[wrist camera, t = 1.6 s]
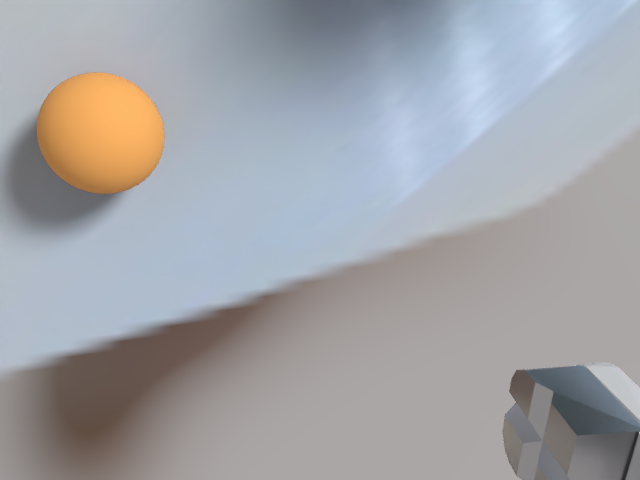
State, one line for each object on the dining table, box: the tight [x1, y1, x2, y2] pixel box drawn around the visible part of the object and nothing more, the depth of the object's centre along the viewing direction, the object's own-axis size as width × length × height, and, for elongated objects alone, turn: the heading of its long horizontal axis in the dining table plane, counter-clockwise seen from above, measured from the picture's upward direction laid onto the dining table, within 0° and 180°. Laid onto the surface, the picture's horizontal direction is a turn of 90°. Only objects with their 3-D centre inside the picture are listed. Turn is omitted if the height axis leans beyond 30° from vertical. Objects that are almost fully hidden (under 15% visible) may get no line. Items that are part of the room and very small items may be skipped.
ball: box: [37, 73, 164, 194], centre depth 26 cm, size 6×6×6 cm
